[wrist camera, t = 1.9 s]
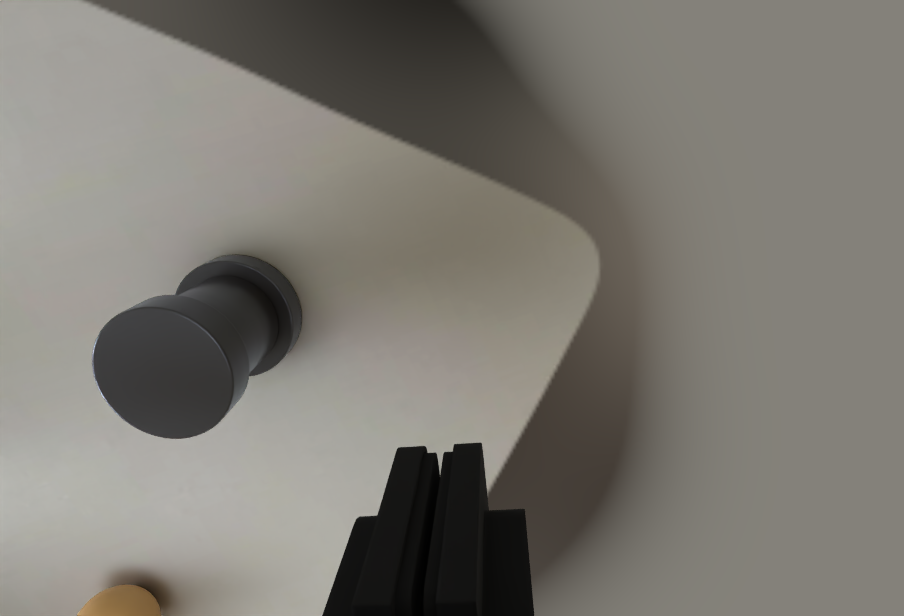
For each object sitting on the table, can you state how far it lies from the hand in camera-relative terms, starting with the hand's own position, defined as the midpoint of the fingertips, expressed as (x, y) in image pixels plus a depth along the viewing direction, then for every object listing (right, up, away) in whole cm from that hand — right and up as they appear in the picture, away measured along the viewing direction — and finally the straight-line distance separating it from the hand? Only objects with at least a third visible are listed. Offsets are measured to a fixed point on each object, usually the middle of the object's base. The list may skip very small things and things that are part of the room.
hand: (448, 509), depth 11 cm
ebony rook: (-9, +4, +14) cm, 17 cm away
